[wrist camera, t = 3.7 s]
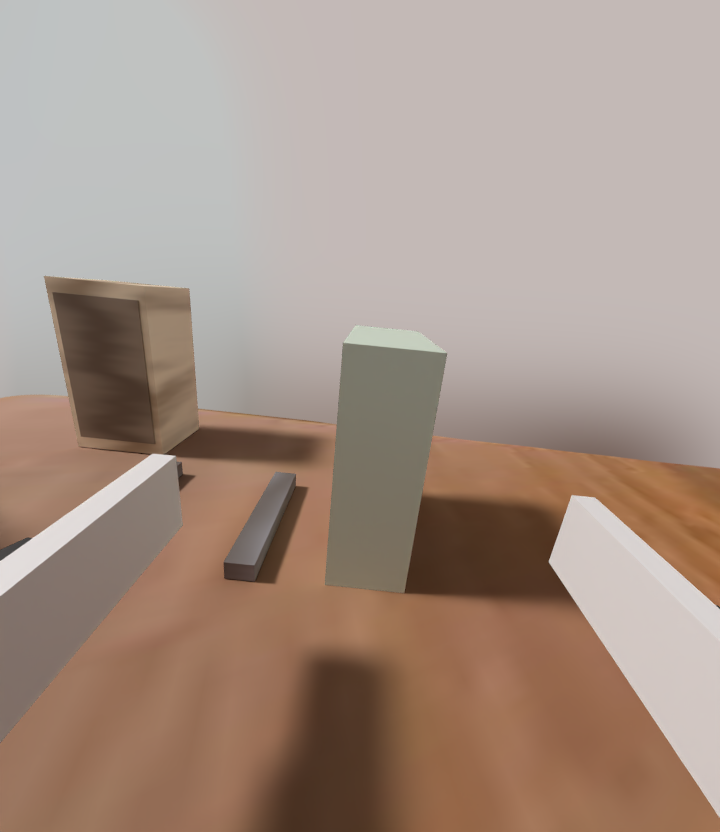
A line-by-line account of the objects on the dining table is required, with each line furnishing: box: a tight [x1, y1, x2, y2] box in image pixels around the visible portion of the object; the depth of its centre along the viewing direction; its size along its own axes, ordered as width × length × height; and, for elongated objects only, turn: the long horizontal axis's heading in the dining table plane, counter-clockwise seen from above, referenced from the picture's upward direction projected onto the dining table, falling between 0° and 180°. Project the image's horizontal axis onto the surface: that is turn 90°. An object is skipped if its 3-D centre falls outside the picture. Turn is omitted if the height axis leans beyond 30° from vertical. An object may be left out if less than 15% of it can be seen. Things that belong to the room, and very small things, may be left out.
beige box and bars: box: [44, 276, 296, 582], centre depth 23 cm, size 18×18×13 cm
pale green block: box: [325, 325, 447, 593], centre depth 19 cm, size 4×9×12 cm, turn 178°
